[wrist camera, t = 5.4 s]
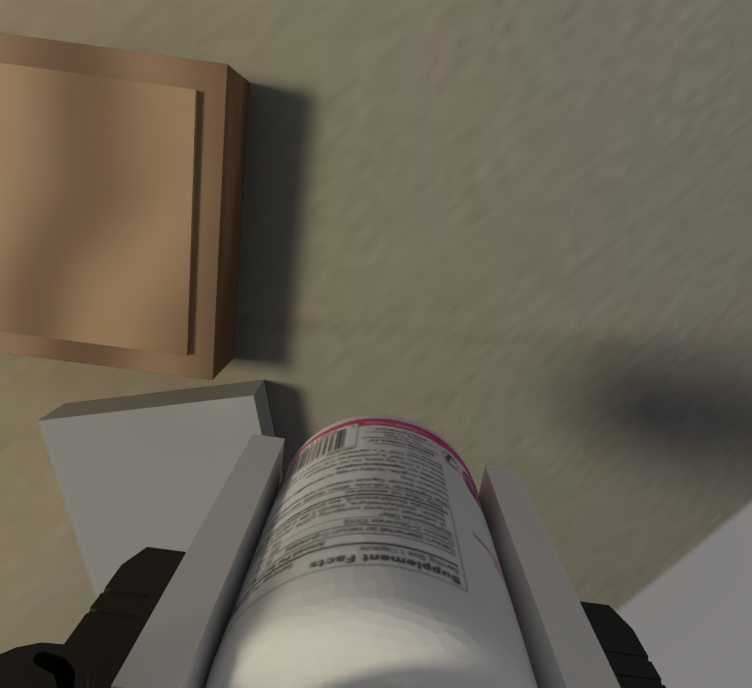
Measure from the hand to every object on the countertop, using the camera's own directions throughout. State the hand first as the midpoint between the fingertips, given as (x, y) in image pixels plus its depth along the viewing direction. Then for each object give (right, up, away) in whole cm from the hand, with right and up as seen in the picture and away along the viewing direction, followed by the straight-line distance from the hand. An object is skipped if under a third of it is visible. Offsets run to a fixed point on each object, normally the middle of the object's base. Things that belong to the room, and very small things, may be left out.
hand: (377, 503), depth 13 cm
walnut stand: (-12, +10, +11) cm, 19 cm away
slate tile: (-10, -3, +14) cm, 17 cm away
